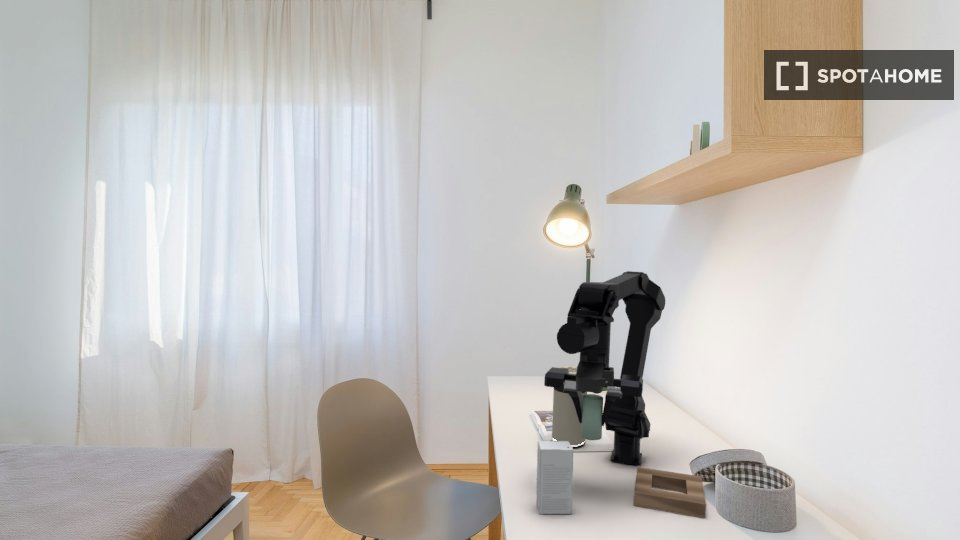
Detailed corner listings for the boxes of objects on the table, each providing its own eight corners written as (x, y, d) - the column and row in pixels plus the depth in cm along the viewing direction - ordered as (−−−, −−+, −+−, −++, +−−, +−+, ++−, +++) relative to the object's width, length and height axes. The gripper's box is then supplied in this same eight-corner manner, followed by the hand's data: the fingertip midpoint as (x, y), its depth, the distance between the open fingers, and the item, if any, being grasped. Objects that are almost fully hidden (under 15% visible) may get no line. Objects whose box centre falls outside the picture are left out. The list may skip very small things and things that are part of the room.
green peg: (582, 431, 112) (584, 393, 111) (602, 434, 111) (604, 395, 110) (579, 438, 108) (581, 398, 108) (600, 441, 107) (602, 401, 106)
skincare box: (567, 503, 103) (569, 440, 102) (572, 515, 98) (574, 449, 98) (535, 503, 102) (537, 440, 102) (538, 514, 98) (540, 449, 97)
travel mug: (584, 450, 129) (587, 374, 127) (550, 447, 130) (553, 372, 129) (585, 438, 136) (587, 366, 135) (553, 435, 138) (555, 364, 137)
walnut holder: (636, 478, 114) (637, 466, 114) (701, 488, 110) (701, 476, 110) (633, 505, 102) (634, 492, 102) (705, 518, 98) (705, 504, 98)
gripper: (539, 349, 104) (536, 430, 105) (642, 359, 98) (638, 444, 99) (551, 339, 114) (548, 413, 115) (644, 347, 108) (641, 425, 109)
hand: (591, 423), depth 109 cm, fingers closed on green peg, 4 cm apart
